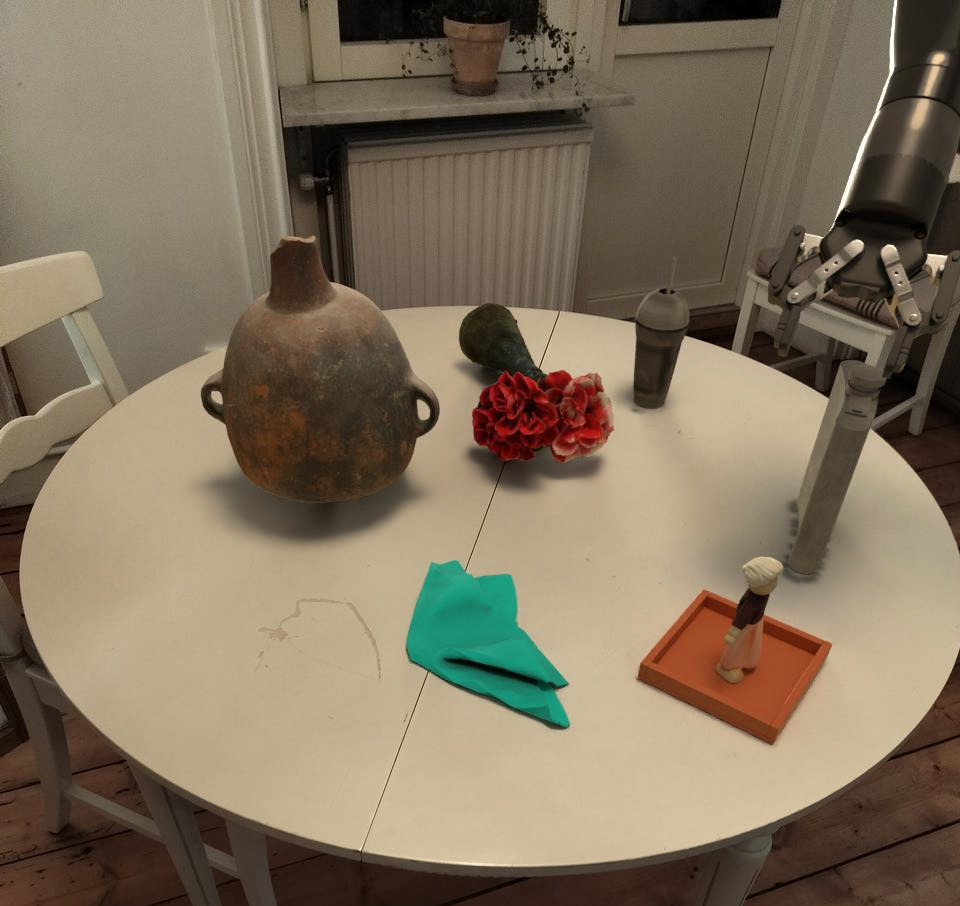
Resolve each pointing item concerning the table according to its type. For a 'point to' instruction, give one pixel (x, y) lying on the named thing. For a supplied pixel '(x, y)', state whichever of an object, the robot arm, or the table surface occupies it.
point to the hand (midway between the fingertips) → (833, 363)
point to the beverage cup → (658, 343)
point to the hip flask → (834, 460)
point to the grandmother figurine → (749, 619)
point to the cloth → (482, 641)
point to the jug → (317, 387)
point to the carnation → (530, 395)
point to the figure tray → (764, 689)
